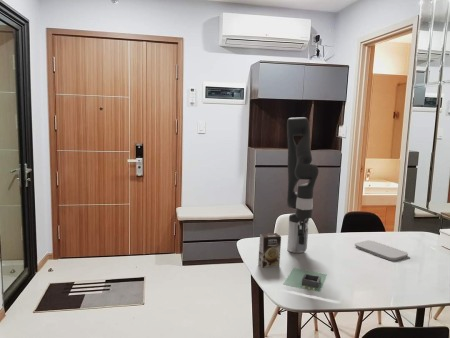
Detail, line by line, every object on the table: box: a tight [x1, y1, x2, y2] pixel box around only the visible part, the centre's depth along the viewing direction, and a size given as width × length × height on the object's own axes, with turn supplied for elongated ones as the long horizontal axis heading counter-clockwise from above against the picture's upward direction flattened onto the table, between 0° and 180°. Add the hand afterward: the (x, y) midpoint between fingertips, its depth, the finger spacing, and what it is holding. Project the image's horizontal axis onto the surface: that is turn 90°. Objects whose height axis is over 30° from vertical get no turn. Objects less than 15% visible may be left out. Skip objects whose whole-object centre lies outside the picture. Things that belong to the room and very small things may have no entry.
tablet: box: [354, 240, 409, 262], centre depth 206 cm, size 16×26×2 cm, turn 32°
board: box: [282, 267, 328, 293], centre depth 164 cm, size 20×16×4 cm
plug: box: [297, 227, 309, 252], centre depth 169 cm, size 4×4×10 cm
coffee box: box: [257, 232, 282, 268], centre depth 179 cm, size 9×6×16 cm
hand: (302, 242), depth 169 cm, fingers closed on plug, 4 cm apart
